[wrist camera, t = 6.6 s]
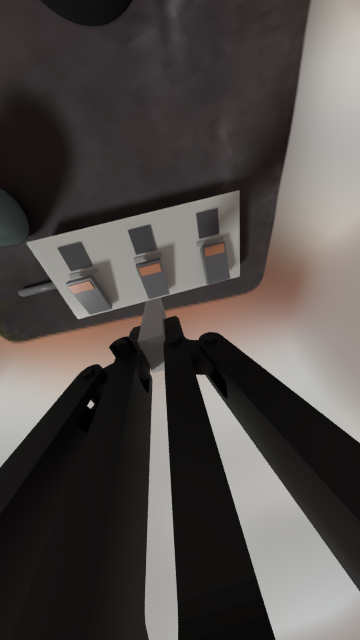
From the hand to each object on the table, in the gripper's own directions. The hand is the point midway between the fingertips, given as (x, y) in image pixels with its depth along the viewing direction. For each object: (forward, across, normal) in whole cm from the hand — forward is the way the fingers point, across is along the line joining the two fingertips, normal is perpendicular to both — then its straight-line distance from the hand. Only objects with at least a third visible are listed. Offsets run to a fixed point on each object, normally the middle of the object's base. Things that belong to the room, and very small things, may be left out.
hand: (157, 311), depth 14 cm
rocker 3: (+9, +10, +1) cm, 14 cm away
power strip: (+15, -4, +4) cm, 16 cm away
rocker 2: (+9, 0, +2) cm, 9 cm away
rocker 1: (+9, -10, +2) cm, 14 cm away
